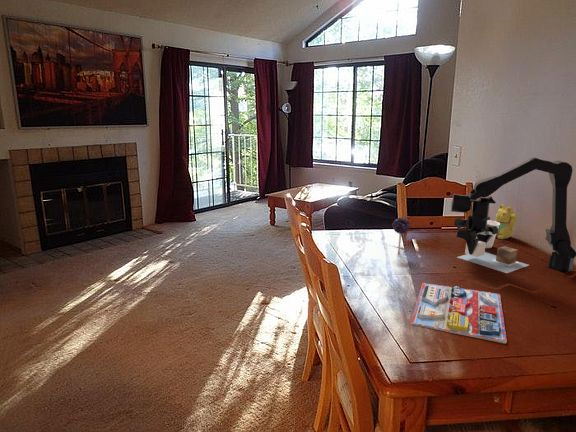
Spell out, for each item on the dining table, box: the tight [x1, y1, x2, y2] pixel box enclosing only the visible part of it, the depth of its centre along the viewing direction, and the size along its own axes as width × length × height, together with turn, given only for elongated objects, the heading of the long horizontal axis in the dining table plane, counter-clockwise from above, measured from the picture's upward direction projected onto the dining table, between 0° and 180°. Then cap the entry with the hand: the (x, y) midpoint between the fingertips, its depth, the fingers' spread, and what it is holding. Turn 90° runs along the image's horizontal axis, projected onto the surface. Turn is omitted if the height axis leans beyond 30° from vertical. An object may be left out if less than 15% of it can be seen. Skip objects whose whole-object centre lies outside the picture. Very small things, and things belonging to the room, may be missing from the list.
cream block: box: [464, 241, 486, 257], centre depth 159 cm, size 5×5×5 cm
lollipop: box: [391, 217, 411, 255], centre depth 165 cm, size 7×7×15 cm
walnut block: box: [495, 245, 518, 265], centre depth 157 cm, size 5×5×5 cm
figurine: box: [495, 203, 518, 240], centre depth 192 cm, size 11×9×15 cm
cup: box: [485, 219, 500, 249], centre depth 176 cm, size 10×10×11 cm
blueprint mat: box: [456, 251, 530, 274], centre depth 158 cm, size 20×16×1 cm
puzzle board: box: [410, 282, 508, 345], centre depth 118 cm, size 30×23×3 cm
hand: (474, 253), depth 160 cm, fingers closed on cream block, 5 cm apart
